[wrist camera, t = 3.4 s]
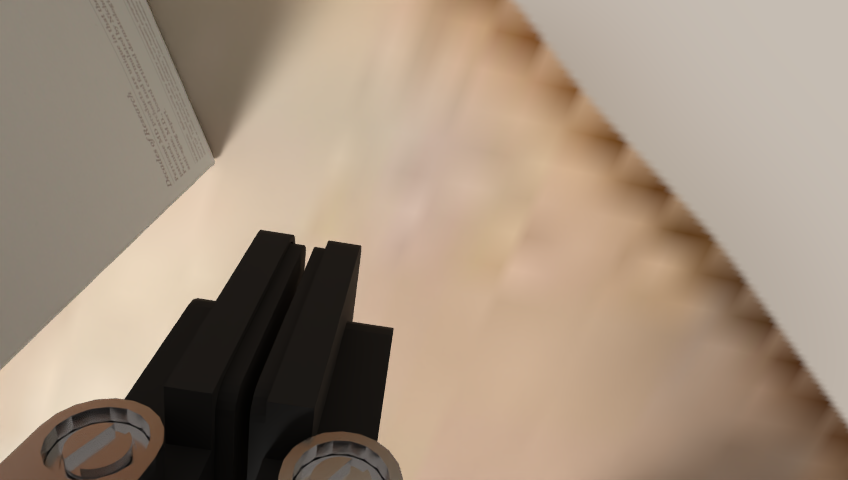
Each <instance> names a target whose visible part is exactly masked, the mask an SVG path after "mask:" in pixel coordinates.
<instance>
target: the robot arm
mask: <svg viewBox="0 0 848 480" xmlns="http://www.w3.org/2000/svg"><path fill="white" fill-rule="evenodd" d="M305 255H306V247H305V245H299V244H295V237H294V235H290V234H283V233H277V232H271V231H264V230H260V231H259V232H258V233H257V235H256V237H255V238H254V240H253V242H252V243H251V245H250V246H249V248H248V250H247V251H246V253H245V255H244V256H243V258H242V259H241V261H240V263H239V264H238V266H237V268H236V269H235V271H234V272H233V274H232V276H231V277H230V279H229V281H228V282H227V284H226V285H225V287H224V289H223V290H222V292H221V294H220V295H219V297H218V298H217V300H216V301H212V300H206V299H199V298H197V299H193V301H192V302H191V303H190V304H189V305H188V307H187V308H186V309H185V311H184V312H183V314H182V315H181V317H180V318H179V320H178V321H177V323H176V324H175V326H174V327H173V329H172V330H171V332H170V333H169V335H168V336H167V337H166V339H165V340H164V342H163V343H162V345H161V346H160V348H159V349H158V351H157V352H156V354H155V355H154V357H153V358H152V360H151V361H150V362H149V364H148V365H147V367H146V368H145V370H144V371H143V373H142V374H141V376H140V377H139V379H138V380H137V382H136V383H135V385H134V386H133V388H132V389H131V390H130V392H129V393H128V395H127V396H126V398H125V399H117V398H114V399H98V400H93V401H89V402H85V403H81V404H77V405H74V406H72V407H70V408H68V409H65V410H63V411H61V412H59V413H57V414H55V415H54V416H53V417H51V418H50V419H49V420H47V421H46V422H45V423H43V424H42V425H41V426H39V427H38V428H37V429H36V430H35V431H34V432H33V433H32V434H31V435H30V436H29V437H28V438H27V439H26V440H25V441H24V442H23V443H22V444H20V445H19V446H18V447H17V448H16V449H15V450H14V451H13V452H12V453H11V454H10V455H9V456H8V457H7V458H6V459H5V460H4V461H2V462H1V463H0V480H403V477H402V474H401V471H400V467H399V464H398V462H397V461H396V459H395V458H394V457H393V455H392V454H391V453H390V451H389V450H388V449H386V448H385V447H384V446H382V445H381V444H380V443H378V442H377V439H378V432H379V425H380V419H381V412H382V405H383V398H384V391H385V384H386V377H387V370H388V364H389V357H390V350H391V343H392V336H393V328H389V327H383V326H376V325H370V324H363V323H356V322H352V321H353V313H354V305H355V297H356V289H357V281H358V273H359V265H360V257H361V246H360V245H354V244H347V243H341V242H335V241H328V243H327V246H326V248H325V249H324V248H318V247H314V249H313V251H312V254H311V256H310V259H309V261H308V263H307V266H306V268H305V271H304V267H305Z"/></svg>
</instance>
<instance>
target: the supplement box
mask: <svg viewBox="0 0 848 480" xmlns="http://www.w3.org/2000/svg"><path fill="white" fill-rule="evenodd" d="M214 163H215V160H214V158H213V155H212V153H211V150H210V148H209V145H208V143H207V141H206V138H205V136H204V133H203V131H202V128H201V126H200V124H199V122H198V120H197V117H196V115H195V112H194V110H193V108H192V105H191V103H190V101H189V99H188V96H187V94H186V91H185V89H184V86H183V84H182V82H181V79H180V77H179V75H178V73H177V71H176V68H175V66H174V64H173V61H172V59H171V56H170V54H169V51H168V49H167V47H166V44H165V42H164V40H163V38H162V35H161V33H160V31H159V28H158V26H157V24H156V22H155V19H154V17H153V14H152V12H151V9H150V7H149V5H148V3H147V1H146V0H0V370H1V369H2V368H3V367H4V366H5V365H6V364H7V363H8V362H9V361H10V360H11V359H12V358H13V357H14V356H15V355H16V354H17V353H18V352H20V351H21V350H22V349H23V348H24V347H25V346H26V345H27V344H28V343H29V342H30V341H31V340H32V339H33V338H34V337H35V336H36V335H37V334H38V333H39V332H40V331H41V330H42V329H43V328H44V327H45V326H46V325H47V324H48V323H49V322H50V321H51V320H52V319H53V318H54V317H55V316H56V315H58V314H59V313H60V312H61V311H62V310H63V309H64V308H65V307H66V306H67V305H68V304H69V303H70V302H71V301H72V300H73V299H74V298H75V297H76V296H77V295H78V294H79V293H81V292H82V291H83V290H84V289H85V288H86V287H87V286H88V285H89V284H90V283H91V282H92V281H93V280H94V279H95V278H96V277H97V276H98V275H99V274H100V273H101V272H102V271H103V270H104V269H105V268H106V267H107V266H108V265H109V264H111V263H112V262H113V261H114V260H115V259H116V258H117V257H118V256H119V255H120V254H121V253H122V252H123V251H124V250H125V249H126V248H127V247H128V246H129V245H130V244H131V243H133V242H134V241H135V240H136V239H137V237H138V236H140V235H141V234H142V233H143V232H144V231H145V230H146V229H147V228H148V227H149V226H150V225H151V224H152V223H153V222H154V221H155V220H156V219H157V218H158V217H159V216H160V215H161V214H162V213H163V212H164V211H165V210H166V209H167V208H168V207H170V206H171V205H172V204H173V203H174V202H175V201H176V200H177V199H178V198H179V197H180V196H181V195H182V194H183V193H184V192H186V191H187V190H188V189H189V188H190V187H191V186H192V185H193V184H194V183H195V182H196V181H197V180H198V179H199V178H200V177H201V176H202V175H203V174H204V173H205V172H206V171H207V170H208V169H209V168H210V167H211V166H213V165H214Z"/></svg>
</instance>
